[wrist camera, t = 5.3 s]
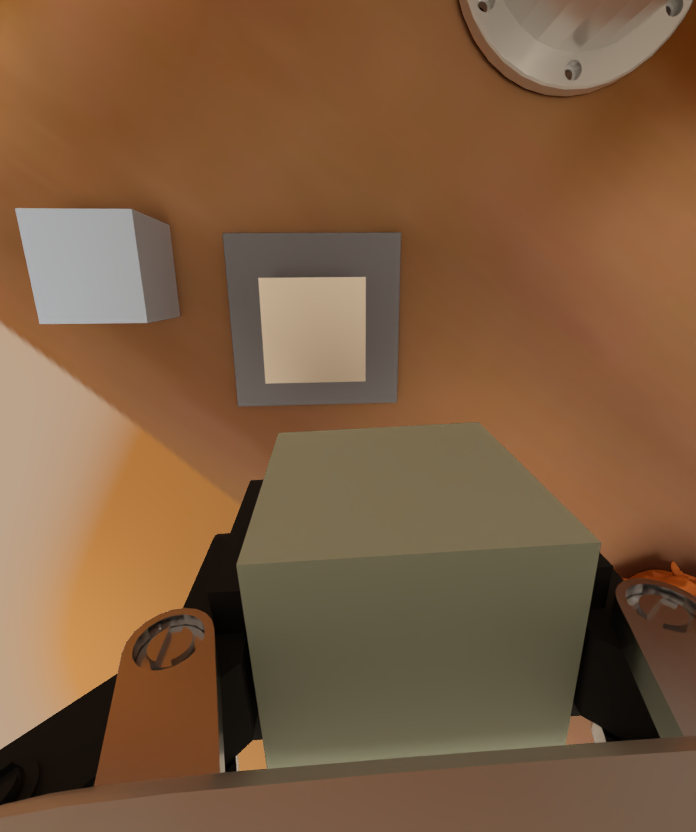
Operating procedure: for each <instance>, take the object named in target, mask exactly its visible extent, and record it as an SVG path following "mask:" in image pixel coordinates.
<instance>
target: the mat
mask: <svg viewBox="0 0 696 832" xmlns="http://www.w3.org/2000/svg"><path fill="white" fill-rule="evenodd" d="M223 242H224V253H225V264H226V276H227V287H228V298H229V309H230V321H231V332H232V343H233V354H234V366H235V377H236V388H237V399H238V406H276V405H316V404H356V403H397V376H398V336H399V295H400V254H401V233H223ZM297 277H366V381H362V382H317V383H271V384H265V370H264V356H263V341H262V326H261V312H260V297H259V283H258V278H297Z"/></svg>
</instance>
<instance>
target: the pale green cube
mask: <svg viewBox="0 0 696 832" xmlns="http://www.w3.org/2000/svg"><path fill="white" fill-rule="evenodd" d="M600 547H601V542H600V541H599V540H598V539H597V538H596V537H595V536H594V535H593V534H592V533H591V532H590V531H589V530H588V529H587V528H586V527H585V526H584V525H583V524H582V523H581V522H580V521H579V520H578V519H577V518H576V517H575V516H574V515H573V514H572V513H571V512H570V511H569V510H568V509H567V508H566V507H565V506H564V505H563V504H562V503H561V502H560V501H559V500H558V499H557V498H556V497H555V496H554V495H553V494H551V493H550V492H549V491H548V490H547V489H546V488H545V487H544V486H543V485H542V484H541V483H540V482H539V481H538V480H537V479H536V478H535V477H534V476H533V475H532V474H531V473H530V472H529V471H528V470H527V469H526V468H525V467H524V466H523V465H522V464H521V463H520V462H519V461H518V460H517V459H516V458H515V457H514V456H513V455H512V454H511V453H510V452H509V451H508V450H507V449H506V448H505V447H504V446H503V445H501V444H500V443H499V442H498V441H497V440H496V439H495V438H494V437H493V436H492V435H491V434H490V433H489V432H488V431H487V430H486V429H485V428H484V427H483V426H482V425H481V424H480V423H479V422H473V423H454V424H436V425H417V426H399V427H380V428H362V429H343V430H325V431H306V432H288V433H278V436H277V439H276V442H275V446H274V449H273V452H272V455H271V458H270V461H269V464H268V467H267V471H266V474H265V477H264V480H263V483H262V486H261V489H260V493H259V496H258V499H257V502H256V505H255V508H254V511H253V514H252V518H251V521H250V524H249V527H248V530H247V533H246V536H245V539H244V543H243V546H242V549H241V552H240V555H239V558H238V561H237V564H236V566H237V573H238V580H239V586H240V593H241V599H242V606H243V613H244V619H245V626H246V632H247V639H248V646H249V652H250V659H251V665H252V672H253V679H254V685H255V692H256V698H257V705H258V712H259V718H260V725H261V731H262V738H263V744H264V751H265V757H266V764H267V769H272V768H284V767H296V766H307V765H319V764H331V763H343V762H355V761H367V760H379V759H392V758H404V757H417V756H430V755H443V754H455V753H468V752H481V751H494V750H507V749H520V748H533V747H547V746H560V745H566V739H567V733H568V728H569V722H570V716H571V711H572V705H573V699H574V694H575V688H576V682H577V677H578V671H579V665H580V660H581V654H582V648H583V643H584V637H585V631H586V626H587V620H588V614H589V609H590V603H591V598H592V592H593V586H594V581H595V575H596V569H597V564H598V558H599V552H600Z"/></svg>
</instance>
